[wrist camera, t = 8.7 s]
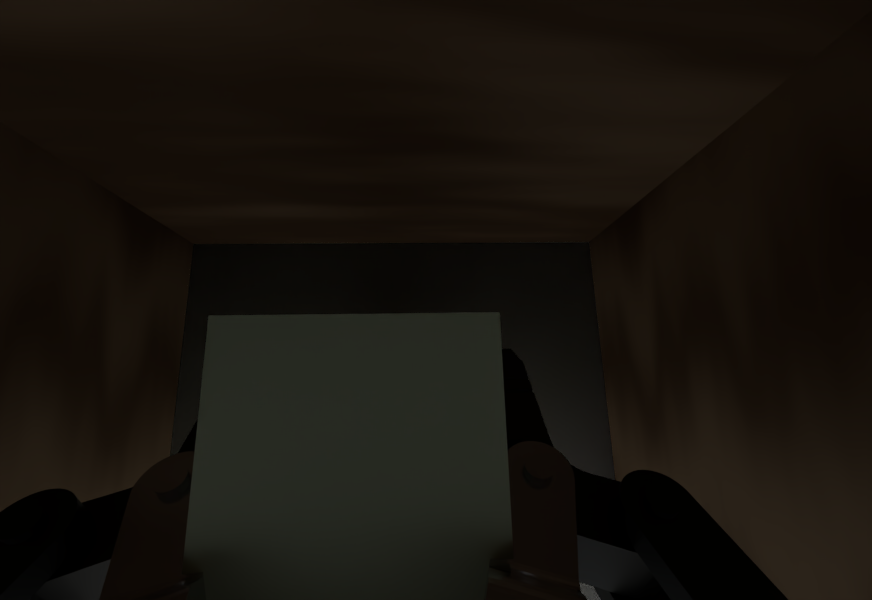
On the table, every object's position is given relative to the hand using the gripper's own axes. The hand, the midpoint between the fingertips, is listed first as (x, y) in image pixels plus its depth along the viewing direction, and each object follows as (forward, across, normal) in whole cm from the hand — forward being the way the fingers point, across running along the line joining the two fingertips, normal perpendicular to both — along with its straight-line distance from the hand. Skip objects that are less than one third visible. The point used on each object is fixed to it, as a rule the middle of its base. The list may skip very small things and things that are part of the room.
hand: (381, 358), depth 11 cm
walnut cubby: (+5, 0, +5) cm, 7 cm away
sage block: (+2, 0, +4) cm, 5 cm away
